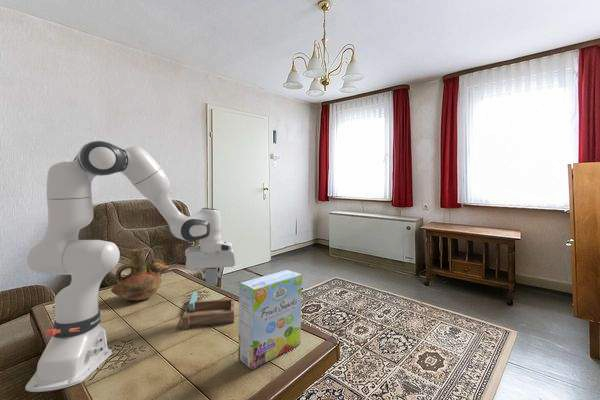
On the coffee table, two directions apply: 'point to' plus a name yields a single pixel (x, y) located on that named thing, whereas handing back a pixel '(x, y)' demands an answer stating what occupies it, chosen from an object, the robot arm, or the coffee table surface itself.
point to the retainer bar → (192, 301)
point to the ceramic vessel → (139, 277)
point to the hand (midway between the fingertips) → (211, 277)
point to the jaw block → (211, 276)
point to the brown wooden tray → (208, 313)
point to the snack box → (269, 317)
